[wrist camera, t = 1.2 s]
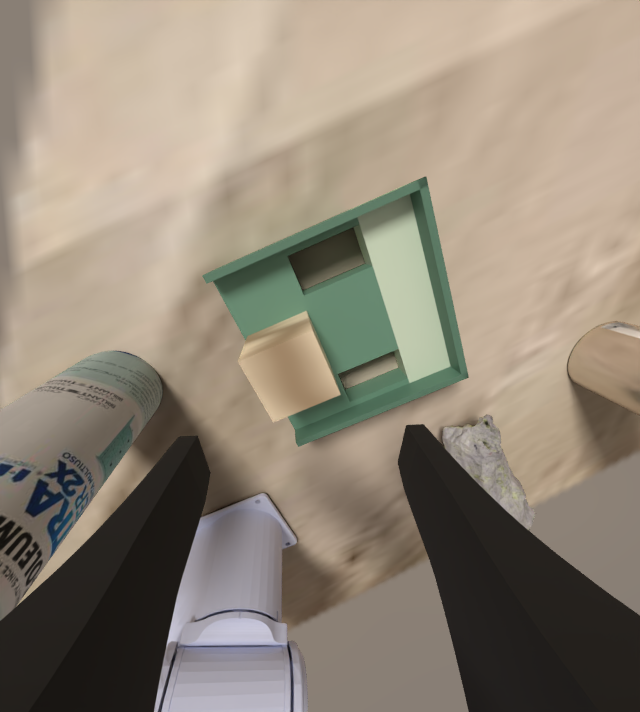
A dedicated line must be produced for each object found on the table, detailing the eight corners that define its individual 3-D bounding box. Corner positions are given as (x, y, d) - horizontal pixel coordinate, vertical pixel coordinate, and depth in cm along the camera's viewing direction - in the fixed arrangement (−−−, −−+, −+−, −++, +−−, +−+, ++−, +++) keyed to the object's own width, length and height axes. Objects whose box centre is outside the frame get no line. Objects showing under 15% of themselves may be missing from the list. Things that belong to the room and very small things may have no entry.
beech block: (275, 387, 22) (273, 422, 18) (247, 336, 20) (237, 361, 16) (330, 364, 22) (340, 394, 18) (306, 310, 20) (312, 330, 16)
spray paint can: (157, 429, 24) (-221, 1008, 6) (70, 410, 23) (-781, 1107, 5) (172, 362, 22) (-329, 934, 4) (78, 336, 21) (-1413, 1067, 3)
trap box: (445, 359, 25) (468, 377, 22) (296, 420, 26) (298, 446, 23) (402, 186, 20) (426, 176, 16) (215, 269, 20) (202, 275, 17)
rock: (404, 425, 28) (439, 480, 21) (474, 389, 27) (530, 435, 21) (452, 519, 34) (491, 583, 27) (510, 491, 33) (563, 551, 27)
